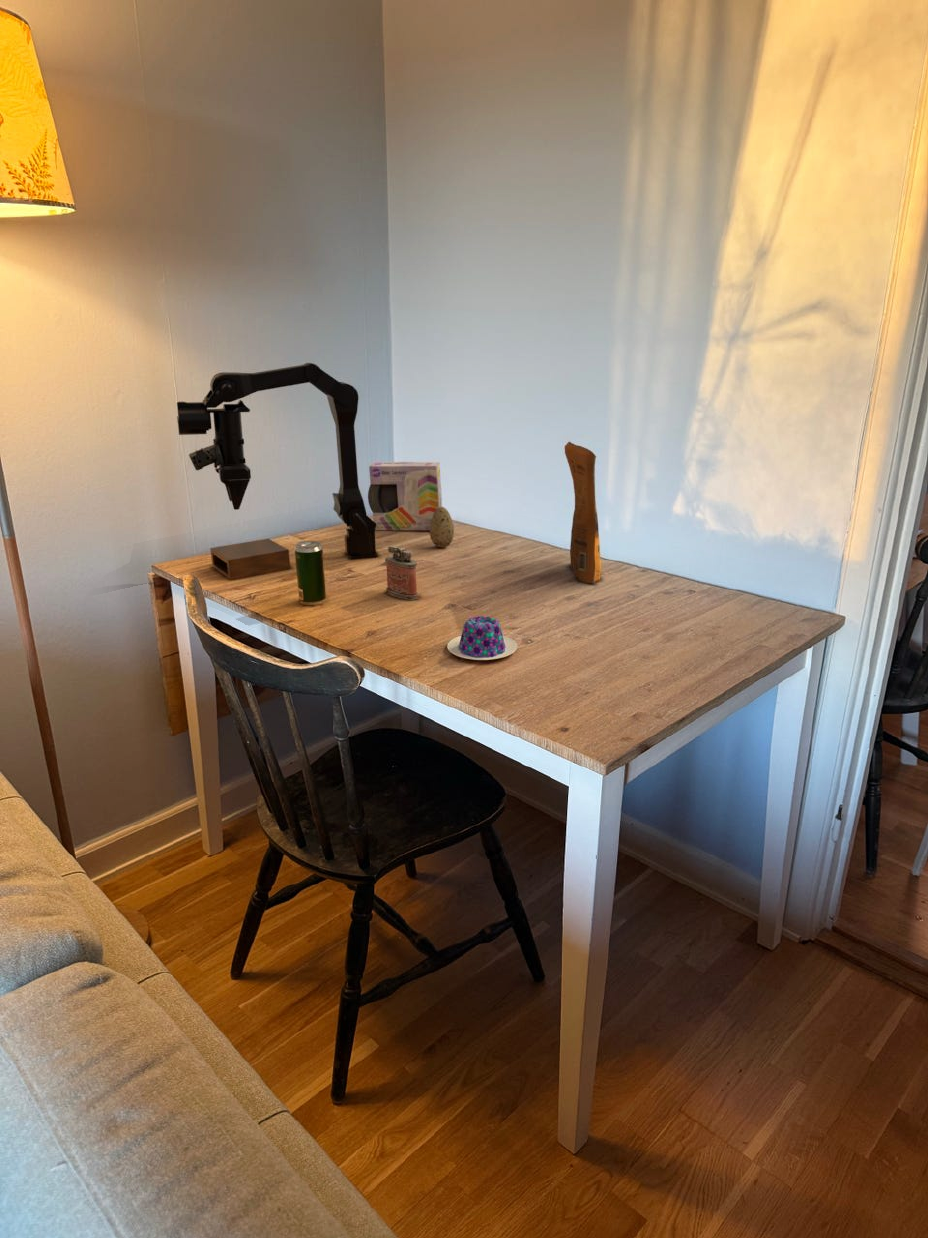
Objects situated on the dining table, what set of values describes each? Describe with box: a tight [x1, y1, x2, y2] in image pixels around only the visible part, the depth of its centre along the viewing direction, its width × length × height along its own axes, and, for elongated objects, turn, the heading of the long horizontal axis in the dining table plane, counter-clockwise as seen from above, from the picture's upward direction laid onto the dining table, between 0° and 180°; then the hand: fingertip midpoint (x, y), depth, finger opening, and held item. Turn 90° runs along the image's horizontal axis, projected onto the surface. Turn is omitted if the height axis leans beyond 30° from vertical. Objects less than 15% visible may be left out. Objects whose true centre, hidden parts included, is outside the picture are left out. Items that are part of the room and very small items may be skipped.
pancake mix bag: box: [564, 441, 602, 585], centre depth 177 cm, size 7×19×28 cm, turn 3°
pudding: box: [446, 615, 518, 661], centre depth 141 cm, size 12×12×5 cm
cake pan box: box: [367, 461, 443, 531], centre depth 216 cm, size 19×5×18 cm, turn 81°
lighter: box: [384, 545, 419, 601], centre depth 167 cm, size 8×3×10 cm, turn 47°
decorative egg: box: [429, 506, 455, 548], centre depth 201 cm, size 6×6×10 cm
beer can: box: [294, 540, 327, 606], centre depth 164 cm, size 5×5×12 cm
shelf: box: [210, 538, 291, 581], centre depth 187 cm, size 14×12×4 cm
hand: (234, 505), depth 183 cm, fingers open, 9 cm apart
